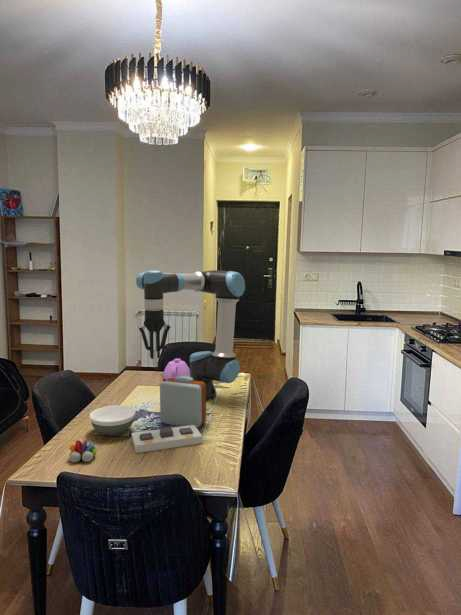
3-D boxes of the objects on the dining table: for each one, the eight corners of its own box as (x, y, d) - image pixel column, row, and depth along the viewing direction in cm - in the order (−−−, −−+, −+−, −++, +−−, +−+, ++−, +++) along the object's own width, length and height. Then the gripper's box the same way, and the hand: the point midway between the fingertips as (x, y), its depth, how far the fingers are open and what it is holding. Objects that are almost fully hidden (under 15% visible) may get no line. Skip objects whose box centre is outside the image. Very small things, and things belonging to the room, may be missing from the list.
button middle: (170, 434, 189) (170, 427, 188) (173, 438, 184) (173, 431, 184) (160, 436, 187) (159, 428, 187) (162, 440, 183) (162, 432, 183)
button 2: (190, 434, 191) (190, 427, 191) (192, 439, 187) (192, 431, 187) (179, 436, 190) (179, 428, 189) (182, 440, 186) (182, 432, 185)
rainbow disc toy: (72, 453, 176) (71, 435, 175) (98, 452, 177) (98, 434, 176) (66, 464, 167) (65, 445, 166) (94, 463, 168) (93, 444, 167)
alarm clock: (206, 421, 207) (206, 376, 204) (198, 429, 198) (198, 382, 195) (168, 416, 213) (168, 372, 210) (159, 423, 204) (158, 378, 201)
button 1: (151, 440, 186) (150, 432, 186) (153, 444, 182) (152, 436, 182) (140, 441, 185) (139, 434, 184) (141, 446, 181) (141, 438, 180)
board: (194, 431, 196) (194, 424, 196) (202, 443, 185) (202, 435, 184) (131, 440, 187) (131, 432, 187) (135, 453, 176) (135, 445, 176)
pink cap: (188, 385, 257) (188, 364, 255) (160, 385, 258) (159, 363, 256) (192, 374, 279) (192, 354, 277) (166, 373, 279) (166, 354, 278)
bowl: (95, 444, 183) (94, 424, 182) (86, 427, 200) (85, 409, 198) (141, 435, 192) (141, 416, 190) (129, 420, 208) (128, 402, 207)
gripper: (168, 307, 194) (168, 362, 197) (136, 308, 189) (137, 365, 193) (172, 309, 187) (172, 366, 190) (139, 311, 182) (140, 369, 186)
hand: (155, 365), depth 191 cm, fingers closed
